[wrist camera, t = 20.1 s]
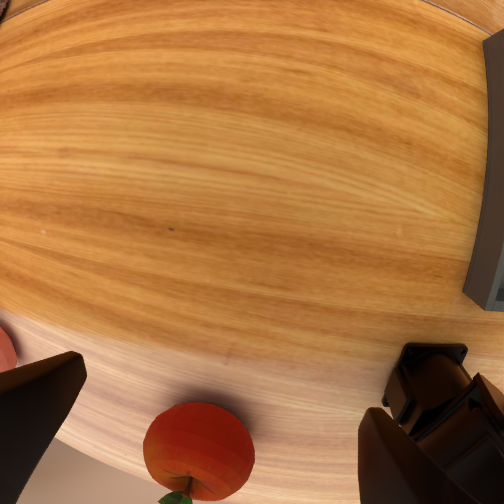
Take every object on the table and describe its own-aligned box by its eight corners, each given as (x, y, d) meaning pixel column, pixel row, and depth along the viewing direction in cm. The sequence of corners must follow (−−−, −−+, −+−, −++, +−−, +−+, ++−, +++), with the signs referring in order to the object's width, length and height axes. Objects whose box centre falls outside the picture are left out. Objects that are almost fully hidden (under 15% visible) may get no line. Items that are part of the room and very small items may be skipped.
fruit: (282, 421, 24) (273, 514, 14) (224, 459, 27) (203, 533, 17) (193, 365, 23) (147, 456, 14) (148, 414, 26) (107, 485, 17)
